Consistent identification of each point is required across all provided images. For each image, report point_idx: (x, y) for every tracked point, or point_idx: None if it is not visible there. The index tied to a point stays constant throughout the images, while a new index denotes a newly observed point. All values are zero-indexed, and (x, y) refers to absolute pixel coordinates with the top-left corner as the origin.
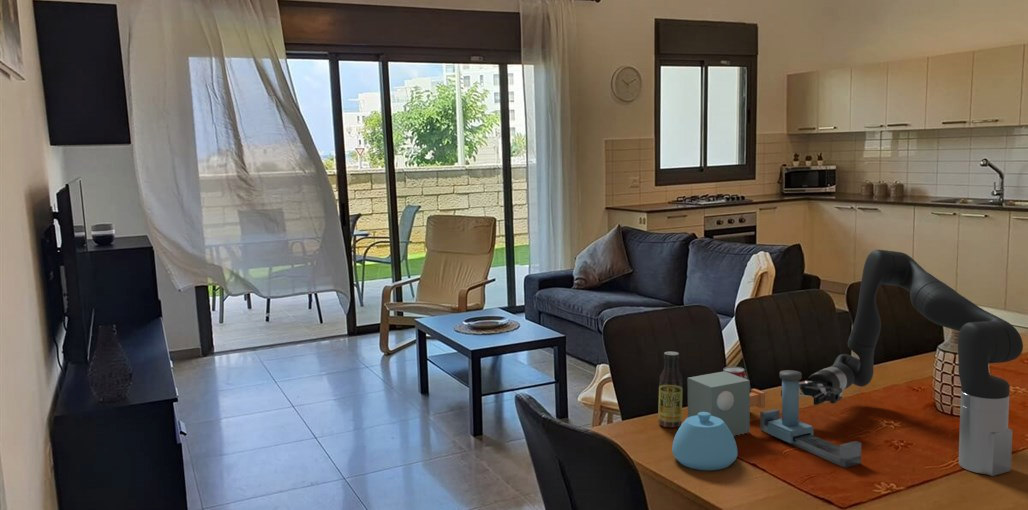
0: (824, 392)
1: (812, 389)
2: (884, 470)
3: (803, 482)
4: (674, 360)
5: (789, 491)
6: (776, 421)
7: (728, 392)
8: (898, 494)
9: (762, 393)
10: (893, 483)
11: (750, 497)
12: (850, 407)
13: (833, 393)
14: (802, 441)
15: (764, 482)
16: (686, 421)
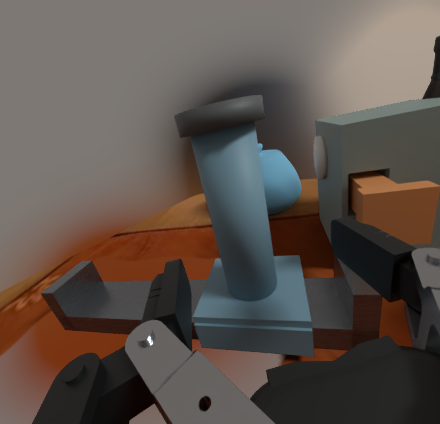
0: (144, 328)
1: (300, 365)
2: (16, 341)
3: (146, 238)
4: (435, 52)
5: (152, 224)
6: (290, 268)
7: (317, 140)
8: (23, 288)
9: (359, 192)
10: (17, 309)
11: (176, 207)
12: None
13: (67, 372)
14: (191, 280)
15: (181, 219)
16: (266, 150)
